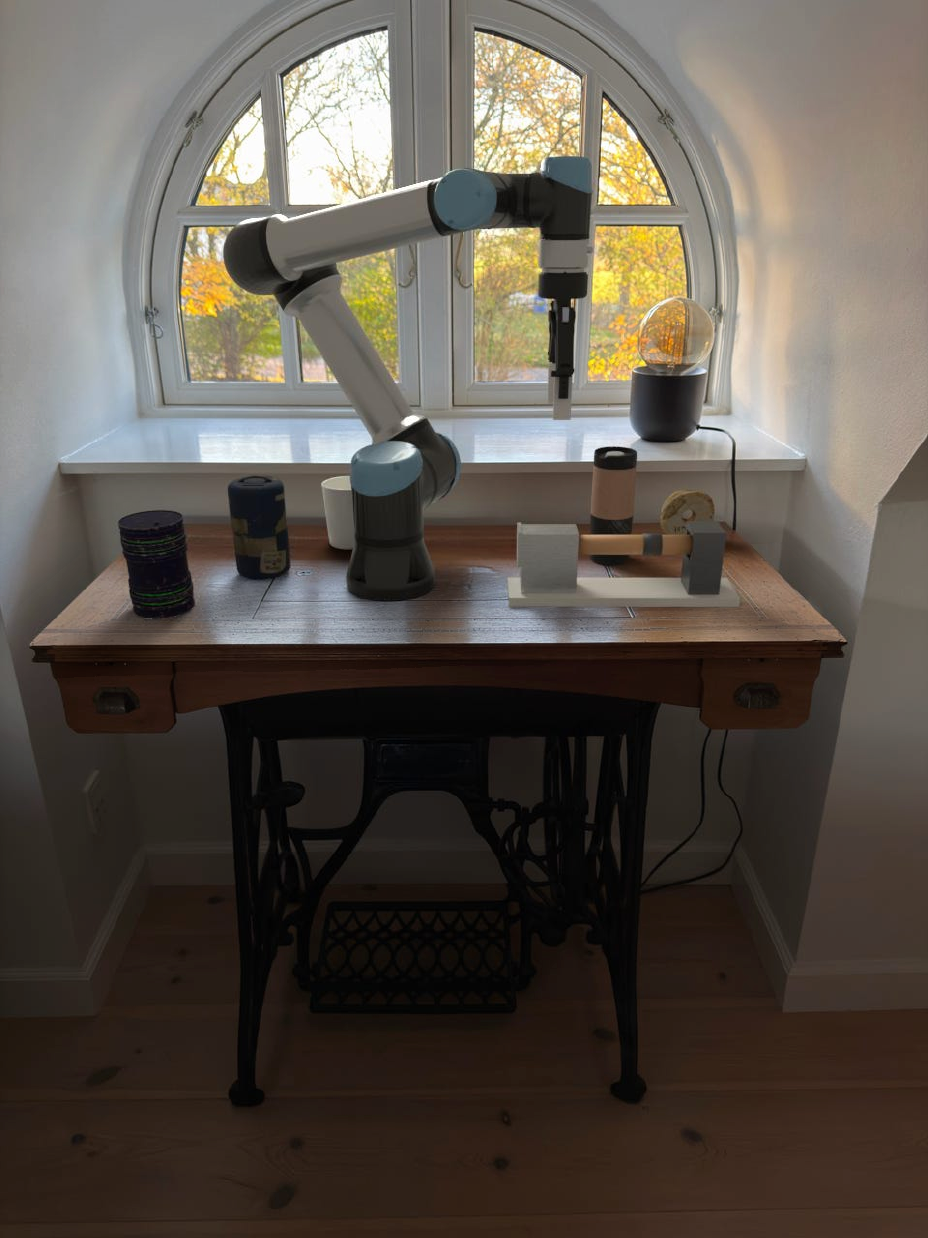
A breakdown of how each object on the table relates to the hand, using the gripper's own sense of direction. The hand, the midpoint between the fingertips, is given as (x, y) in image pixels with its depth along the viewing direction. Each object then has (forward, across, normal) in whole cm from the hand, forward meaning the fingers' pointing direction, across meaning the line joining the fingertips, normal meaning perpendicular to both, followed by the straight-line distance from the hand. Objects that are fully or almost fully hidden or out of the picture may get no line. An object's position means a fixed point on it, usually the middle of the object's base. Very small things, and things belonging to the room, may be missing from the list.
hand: (558, 411), depth 144 cm
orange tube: (+22, -9, -13) cm, 27 cm away
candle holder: (+29, +18, +38) cm, 51 cm away
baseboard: (+29, -9, -10) cm, 32 cm away
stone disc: (+29, +20, -27) cm, 44 cm away
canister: (+29, +1, +51) cm, 59 cm away
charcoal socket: (+27, -9, -24) cm, 37 cm away
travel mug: (+29, +9, -11) cm, 32 cm away
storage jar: (+29, -14, +64) cm, 72 cm away
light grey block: (+27, -9, +2) cm, 29 cm away
